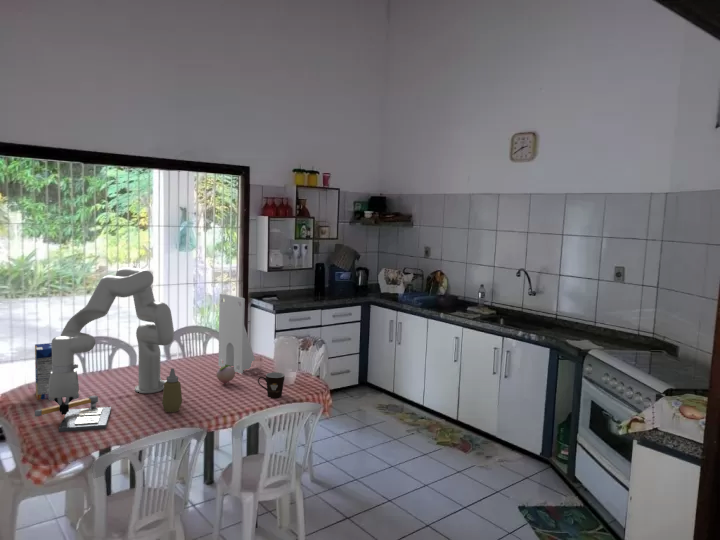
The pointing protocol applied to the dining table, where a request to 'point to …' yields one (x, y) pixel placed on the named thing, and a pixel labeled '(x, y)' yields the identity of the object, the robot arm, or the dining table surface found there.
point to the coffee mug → (274, 384)
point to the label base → (85, 419)
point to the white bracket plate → (233, 334)
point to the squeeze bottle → (172, 393)
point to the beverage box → (43, 369)
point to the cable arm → (72, 404)
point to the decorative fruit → (225, 374)
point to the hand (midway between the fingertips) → (64, 413)
